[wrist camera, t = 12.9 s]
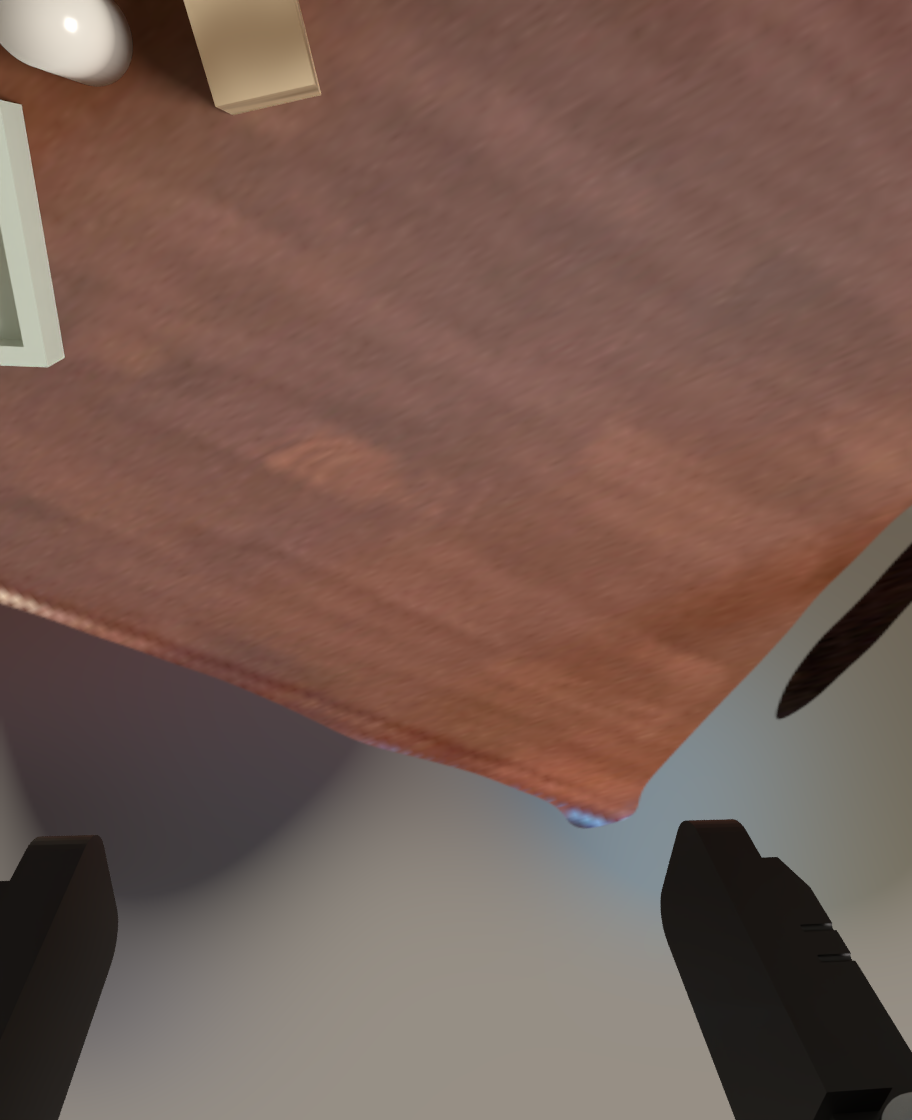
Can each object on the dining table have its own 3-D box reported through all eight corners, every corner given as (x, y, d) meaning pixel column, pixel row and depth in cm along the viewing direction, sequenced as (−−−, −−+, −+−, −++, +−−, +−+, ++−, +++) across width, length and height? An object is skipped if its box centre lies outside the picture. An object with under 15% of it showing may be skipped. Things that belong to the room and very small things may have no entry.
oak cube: (200, 5, 35) (177, -18, 31) (294, -16, 35) (283, -43, 31) (233, 115, 37) (215, 106, 33) (321, 95, 37) (314, 83, 33)
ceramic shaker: (34, -21, 34) (-31, -61, 28) (126, -13, 34) (79, -50, 29) (50, 82, 35) (-8, 64, 30) (138, 89, 36) (96, 73, 31)
